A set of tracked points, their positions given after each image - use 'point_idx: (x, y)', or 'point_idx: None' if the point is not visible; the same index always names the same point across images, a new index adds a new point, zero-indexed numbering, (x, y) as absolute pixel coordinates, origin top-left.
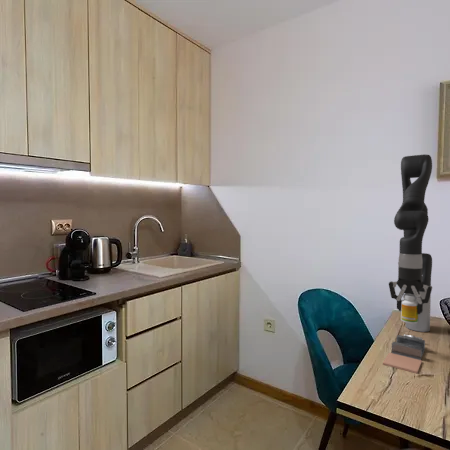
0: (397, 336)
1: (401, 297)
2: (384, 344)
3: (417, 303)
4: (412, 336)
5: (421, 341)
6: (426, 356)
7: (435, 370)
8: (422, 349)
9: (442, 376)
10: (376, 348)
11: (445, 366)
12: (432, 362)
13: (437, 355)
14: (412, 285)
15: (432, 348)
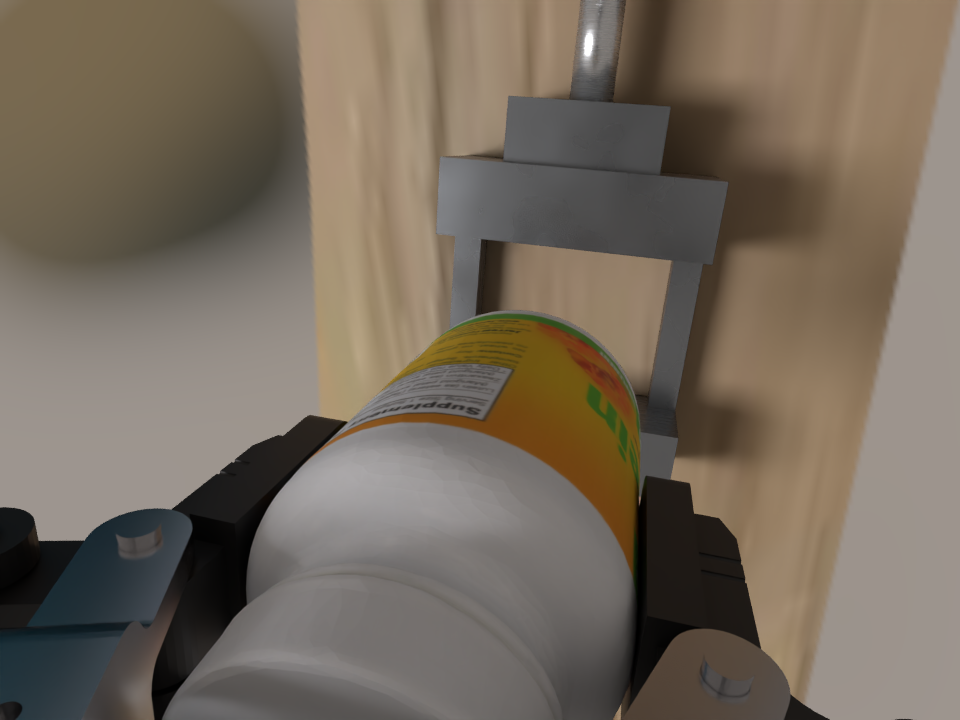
0: (444, 221)
1: (173, 593)
2: (370, 247)
3: (615, 712)
4: (594, 3)
5: (685, 249)
6: (717, 349)
7: (757, 592)
8: (690, 268)
9: (793, 665)
10: (336, 377)
11: (850, 492)
12: (754, 458)
13: (824, 270)
14: None
15: (802, 79)
